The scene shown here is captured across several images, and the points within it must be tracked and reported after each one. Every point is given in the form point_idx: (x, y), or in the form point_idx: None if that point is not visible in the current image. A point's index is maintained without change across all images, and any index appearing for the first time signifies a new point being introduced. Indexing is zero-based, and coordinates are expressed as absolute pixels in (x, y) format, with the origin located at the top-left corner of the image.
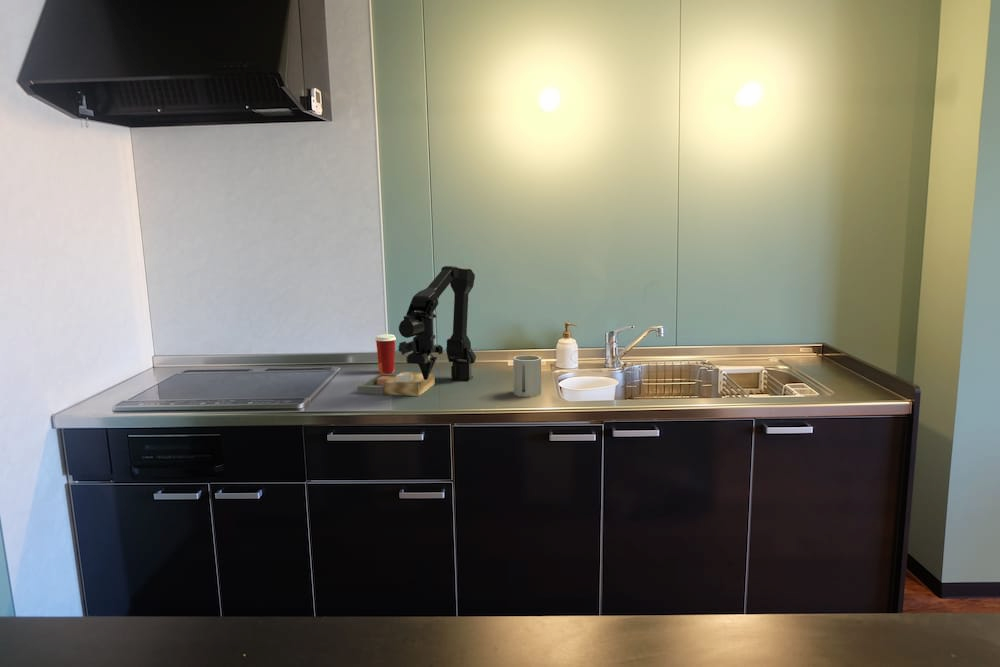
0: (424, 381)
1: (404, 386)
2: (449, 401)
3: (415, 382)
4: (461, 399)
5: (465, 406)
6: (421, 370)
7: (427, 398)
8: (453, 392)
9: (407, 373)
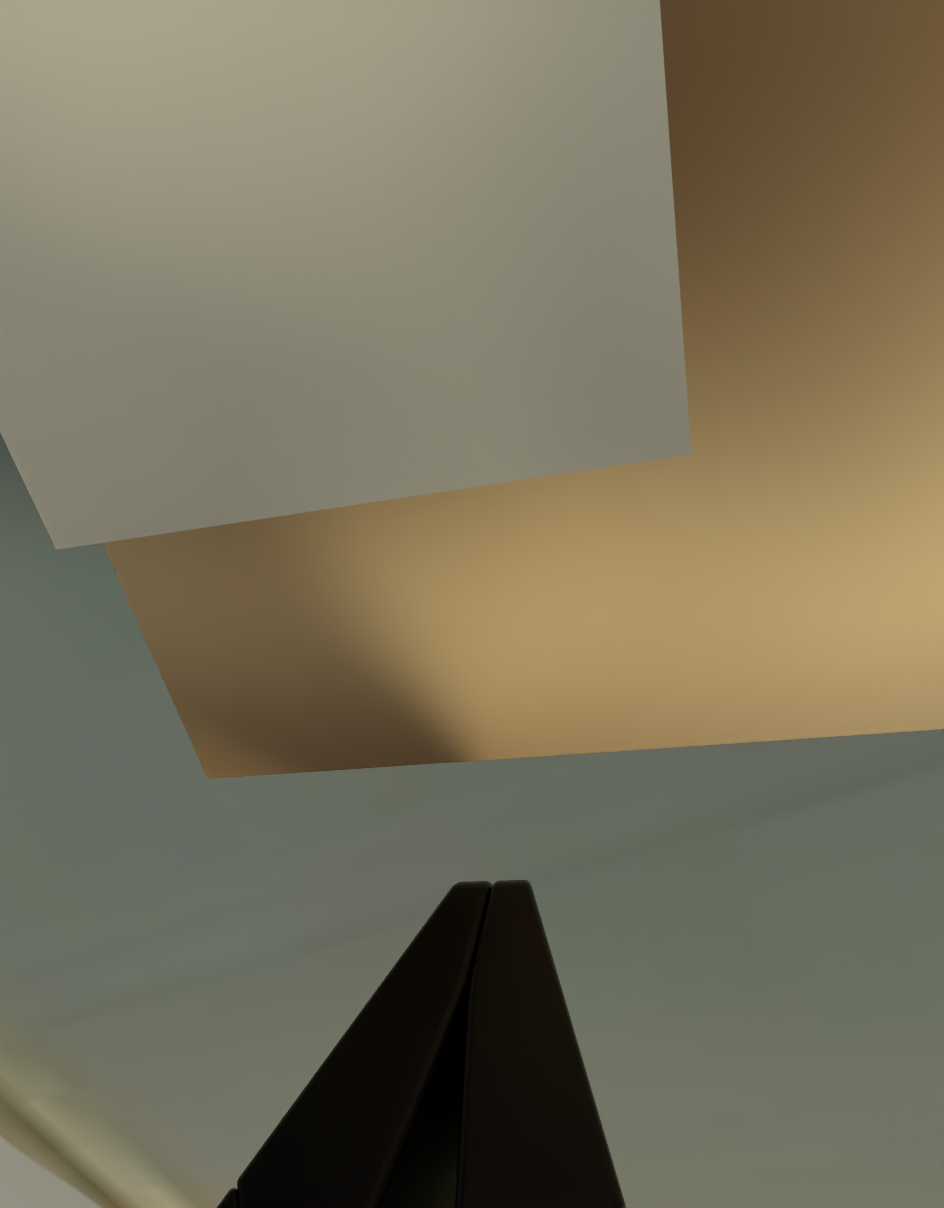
0: (700, 716)
1: None
2: (306, 1050)
3: (320, 642)
4: None
5: (235, 1184)
6: (233, 1204)
7: (277, 800)
8: (764, 995)
9: (634, 32)
